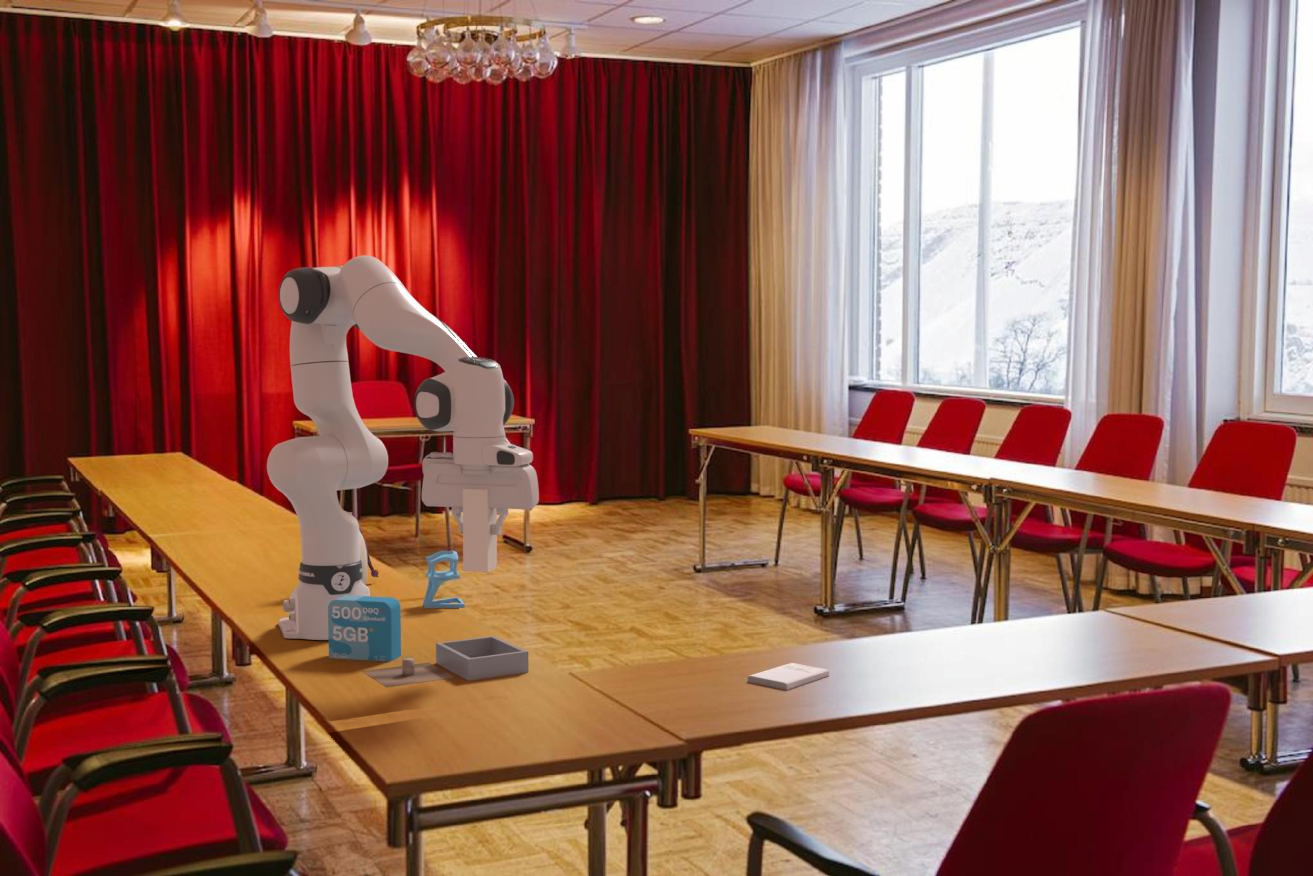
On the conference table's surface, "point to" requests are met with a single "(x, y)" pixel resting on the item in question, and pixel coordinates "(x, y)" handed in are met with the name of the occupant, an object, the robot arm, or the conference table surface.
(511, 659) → the bin
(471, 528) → the strut
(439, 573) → the light blue frame stand
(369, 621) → the data package
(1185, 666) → the conference table surface
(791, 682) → the external hard drive
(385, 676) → the stud plate
